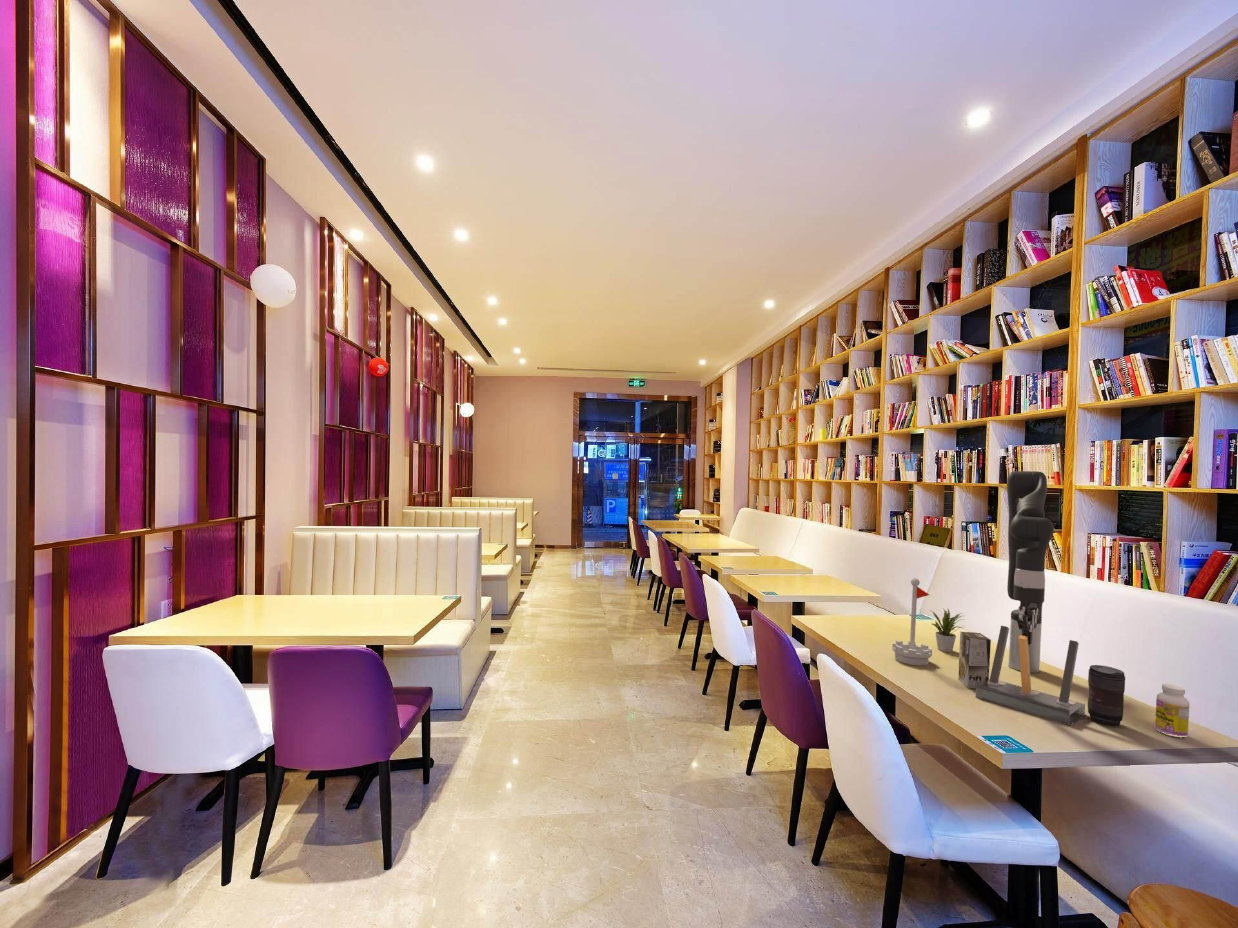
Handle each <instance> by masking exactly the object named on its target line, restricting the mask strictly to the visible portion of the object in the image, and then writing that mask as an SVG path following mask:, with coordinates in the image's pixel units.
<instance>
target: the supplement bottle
mask: <svg viewBox="0 0 1238 928" xmlns="http://www.w3.org/2000/svg"><path fill="white" fill-rule="evenodd" d="M1161 690H1162V692H1159V693H1157V695H1156V700H1155V702H1156V703H1155V705H1156V706H1155V720H1154V721H1155V722H1154V729H1155V731H1157V730H1159V731H1160V732H1164V733H1166V734H1172V735H1177V736H1187V737H1188V736H1189V721H1190V720H1189V719H1190V717H1189V716H1190V701H1189V700H1188V699H1187V698H1186V697H1184V696H1185V694H1186V689H1185V688H1184V687H1183V686H1180V685H1176V684H1171V683H1163V684H1162V685H1161ZM1160 732H1159V733H1160Z"/></svg>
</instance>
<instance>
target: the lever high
mask: <svg viewBox="0 0 1238 928" xmlns="http://www.w3.org/2000/svg"><path fill="white" fill-rule="evenodd" d="M1078 649H1079V642H1078V641H1077V640H1072V639H1069V643H1068V647H1067V654H1066V657H1065V664H1064V665H1065V666H1064V670H1063V675H1062V681H1061V682H1062V683H1061V687H1060V692H1059V696H1058V697H1059V700H1057V705H1061V706H1064V707H1068V708H1069V707H1070V703H1068V702H1069V700H1070V697H1071V691H1072V690H1071V689H1072V686H1073V685H1072V684H1073V678H1074V672H1075V666H1076V661H1077V654H1078Z"/></svg>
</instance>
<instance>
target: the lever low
mask: <svg viewBox="0 0 1238 928" xmlns="http://www.w3.org/2000/svg"><path fill="white" fill-rule="evenodd" d="M1009 634H1010V628H1009V627H1008V626H1006V625H1000V629H999V634H998V638H997V644H996V648H995V653H994V658H993V663H992V667H991V670H990V675H989V680H988V682H987V684H988V685H990V686H993V687H997V688H998V687H999V683H998V681H1000V676H1001V670H1002V665H1003V661H1004V655H1005V651H1006V646H1007V642H1008V637H1009Z"/></svg>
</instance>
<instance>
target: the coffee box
mask: <svg viewBox="0 0 1238 928" xmlns="http://www.w3.org/2000/svg"><path fill="white" fill-rule="evenodd" d="M991 642H992V639H990V638H989V637H987V636H985V635H984V634H982V632H981V633H980V632H972V631H960V632H959V654H958V680H959V681H960V682H961V683H962V684H963V685H964V686H965V687H966V688H968V689H975V690H976V687H978V685H982V684H984V683H986V682H988V680H990V663H991V662H990V661H991V644H992V643H991Z"/></svg>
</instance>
